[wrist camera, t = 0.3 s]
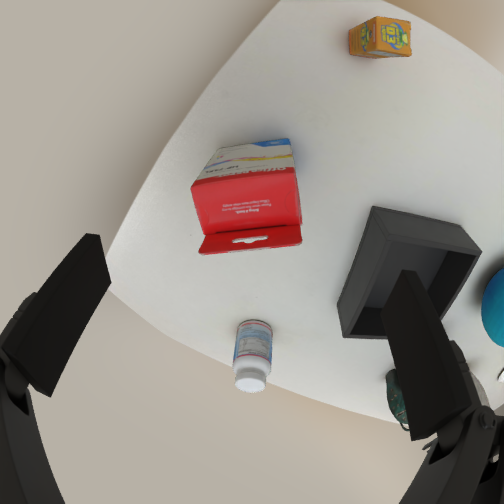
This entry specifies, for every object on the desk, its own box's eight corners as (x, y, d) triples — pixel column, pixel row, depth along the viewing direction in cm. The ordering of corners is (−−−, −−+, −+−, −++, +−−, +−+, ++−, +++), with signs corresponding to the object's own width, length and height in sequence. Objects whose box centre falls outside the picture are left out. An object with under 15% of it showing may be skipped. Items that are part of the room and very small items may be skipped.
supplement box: (345, 28, 22) (375, 12, 14) (375, 33, 22) (415, 22, 14) (346, 55, 24) (377, 49, 16) (376, 59, 24) (416, 58, 16)
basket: (372, 205, 34) (389, 233, 29) (460, 225, 34) (482, 251, 28) (336, 304, 44) (342, 337, 39) (415, 310, 44) (427, 339, 39)
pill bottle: (260, 344, 51) (256, 398, 42) (231, 332, 50) (222, 387, 41) (279, 327, 48) (278, 384, 39) (248, 313, 47) (242, 372, 37)
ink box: (289, 136, 30) (300, 185, 18) (295, 177, 33) (307, 248, 21) (215, 148, 32) (177, 203, 20) (224, 186, 34) (196, 259, 22)
